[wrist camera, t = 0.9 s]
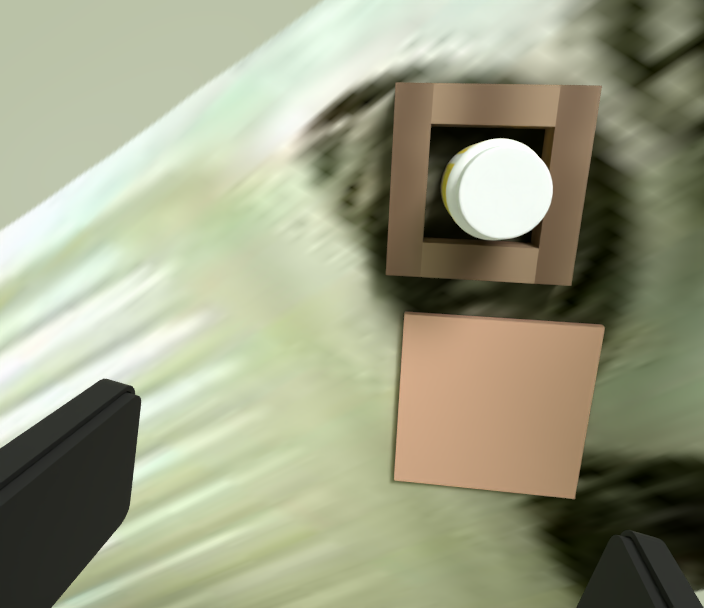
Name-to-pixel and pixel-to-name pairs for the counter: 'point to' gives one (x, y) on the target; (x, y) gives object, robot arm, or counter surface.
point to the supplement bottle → (496, 189)
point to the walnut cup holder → (491, 112)
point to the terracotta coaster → (495, 402)
